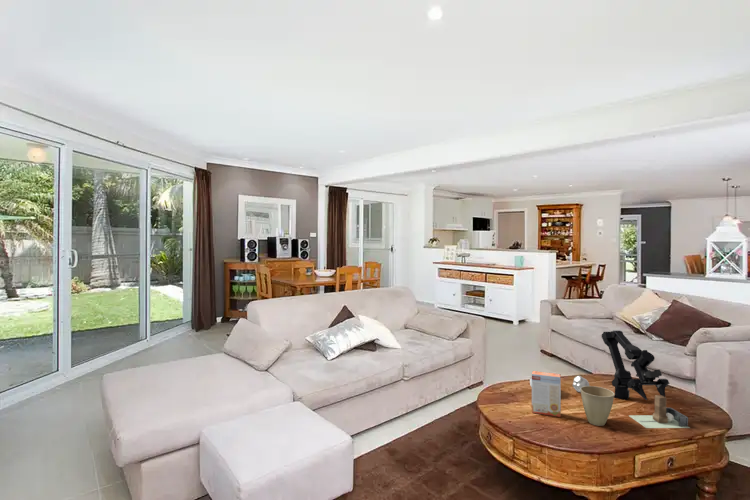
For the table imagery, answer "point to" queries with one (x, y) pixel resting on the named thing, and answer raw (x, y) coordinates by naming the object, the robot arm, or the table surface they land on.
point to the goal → (678, 417)
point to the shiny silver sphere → (579, 383)
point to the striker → (660, 409)
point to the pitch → (654, 422)
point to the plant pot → (597, 404)
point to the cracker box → (546, 393)
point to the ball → (670, 417)
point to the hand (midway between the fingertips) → (655, 399)
